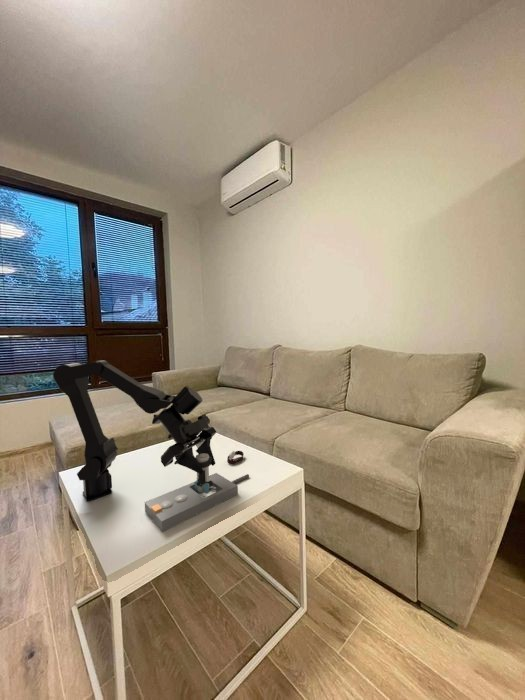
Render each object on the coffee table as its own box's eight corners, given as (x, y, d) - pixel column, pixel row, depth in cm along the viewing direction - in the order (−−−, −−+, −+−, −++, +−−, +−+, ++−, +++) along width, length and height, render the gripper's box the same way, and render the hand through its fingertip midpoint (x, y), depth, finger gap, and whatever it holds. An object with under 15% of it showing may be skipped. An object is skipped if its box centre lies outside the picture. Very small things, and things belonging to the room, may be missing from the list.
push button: (220, 488, 81) (219, 454, 80) (209, 498, 76) (208, 461, 75) (201, 484, 83) (200, 450, 83) (189, 493, 79) (188, 458, 78)
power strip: (162, 531, 66) (161, 519, 65) (145, 511, 74) (144, 500, 74) (260, 483, 86) (259, 473, 86) (238, 471, 94) (238, 462, 94)
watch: (236, 455, 107) (236, 446, 107) (247, 458, 105) (246, 448, 105) (223, 464, 101) (223, 454, 100) (234, 466, 98) (234, 456, 98)
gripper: (167, 416, 72) (204, 466, 68) (210, 400, 89) (242, 440, 84) (145, 442, 75) (179, 491, 71) (191, 423, 92) (220, 461, 88)
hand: (208, 468), depth 79 cm, fingers closed on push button, 5 cm apart
